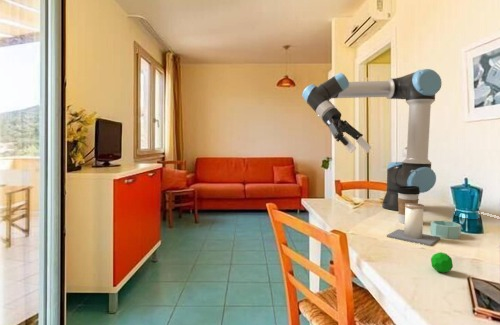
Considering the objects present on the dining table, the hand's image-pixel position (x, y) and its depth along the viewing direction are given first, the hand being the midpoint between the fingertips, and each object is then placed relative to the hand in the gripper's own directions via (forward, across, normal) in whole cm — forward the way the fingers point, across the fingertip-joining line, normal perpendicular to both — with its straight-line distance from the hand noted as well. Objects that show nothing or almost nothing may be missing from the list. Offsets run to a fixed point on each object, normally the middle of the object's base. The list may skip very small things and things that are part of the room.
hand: (361, 150), depth 130 cm
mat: (+36, +4, -6) cm, 37 cm away
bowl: (+41, -8, -1) cm, 42 cm away
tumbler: (+36, +4, -5) cm, 36 cm away
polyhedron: (+47, +30, +5) cm, 56 cm away
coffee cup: (+30, -17, -12) cm, 37 cm away
